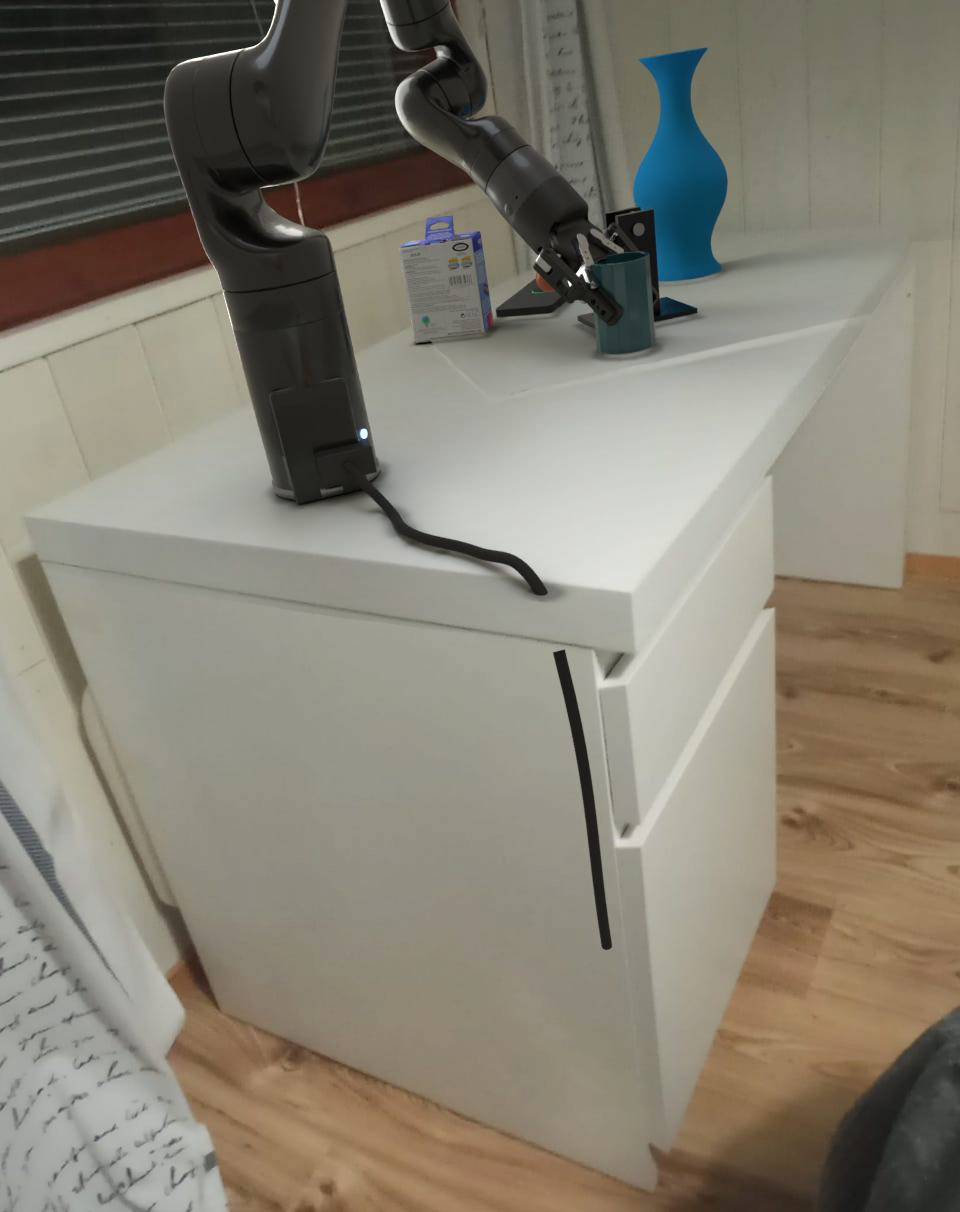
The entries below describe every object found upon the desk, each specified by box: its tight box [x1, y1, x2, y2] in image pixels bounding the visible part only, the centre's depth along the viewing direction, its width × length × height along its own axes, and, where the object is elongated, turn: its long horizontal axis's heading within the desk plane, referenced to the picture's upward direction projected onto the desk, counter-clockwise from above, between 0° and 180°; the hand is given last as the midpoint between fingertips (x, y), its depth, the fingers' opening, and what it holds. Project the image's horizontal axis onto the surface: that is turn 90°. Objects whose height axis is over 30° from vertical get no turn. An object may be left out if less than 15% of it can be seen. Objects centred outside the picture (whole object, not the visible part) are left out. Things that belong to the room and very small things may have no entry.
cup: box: [592, 251, 657, 355], centre depth 108 cm, size 6×6×10 cm
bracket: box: [576, 206, 698, 330], centre depth 118 cm, size 12×9×13 cm
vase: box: [632, 46, 729, 282], centre depth 134 cm, size 12×13×28 cm
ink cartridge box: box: [398, 214, 494, 344], centre depth 126 cm, size 10×6×14 cm, turn 78°
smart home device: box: [495, 277, 570, 318], centre depth 139 cm, size 8×2×20 cm
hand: (636, 311), depth 107 cm, fingers closed on cup, 6 cm apart
